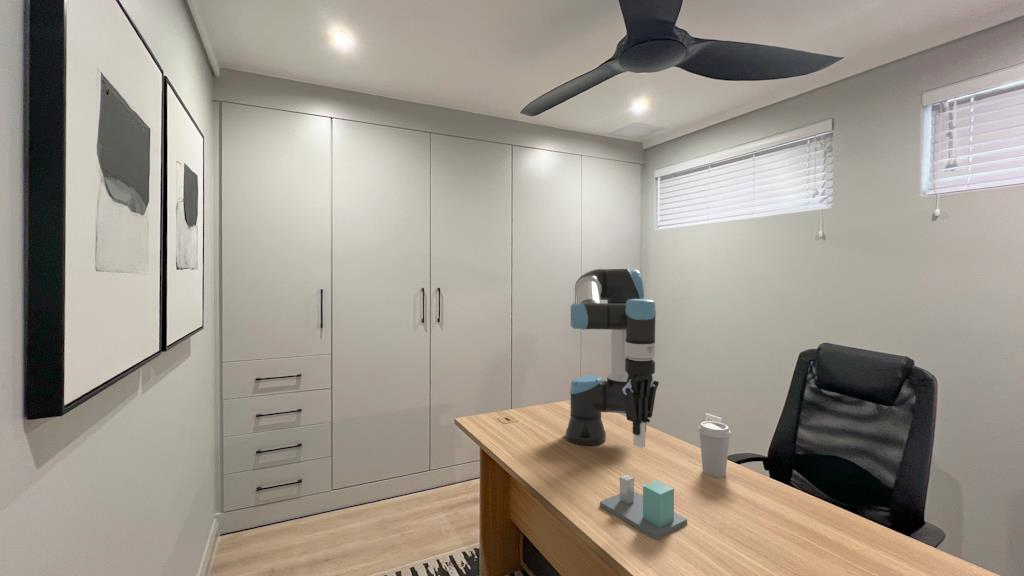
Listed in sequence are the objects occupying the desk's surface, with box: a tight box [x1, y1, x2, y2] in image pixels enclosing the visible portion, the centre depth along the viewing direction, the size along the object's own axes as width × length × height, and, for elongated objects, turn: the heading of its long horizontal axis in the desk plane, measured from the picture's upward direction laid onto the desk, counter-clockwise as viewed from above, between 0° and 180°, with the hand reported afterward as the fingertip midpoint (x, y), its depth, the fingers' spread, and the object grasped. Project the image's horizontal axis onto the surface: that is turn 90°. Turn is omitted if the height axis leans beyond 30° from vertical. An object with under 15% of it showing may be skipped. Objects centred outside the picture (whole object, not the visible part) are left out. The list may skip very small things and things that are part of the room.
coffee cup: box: [697, 420, 732, 478], centre depth 133 cm, size 10×10×15 cm
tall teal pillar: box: [642, 480, 675, 527], centre depth 105 cm, size 5×5×8 cm
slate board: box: [599, 491, 688, 541], centre depth 110 cm, size 18×12×1 cm, turn 34°
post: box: [619, 474, 635, 505], centre depth 114 cm, size 3×3×6 cm
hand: (639, 445), depth 113 cm, fingers closed
